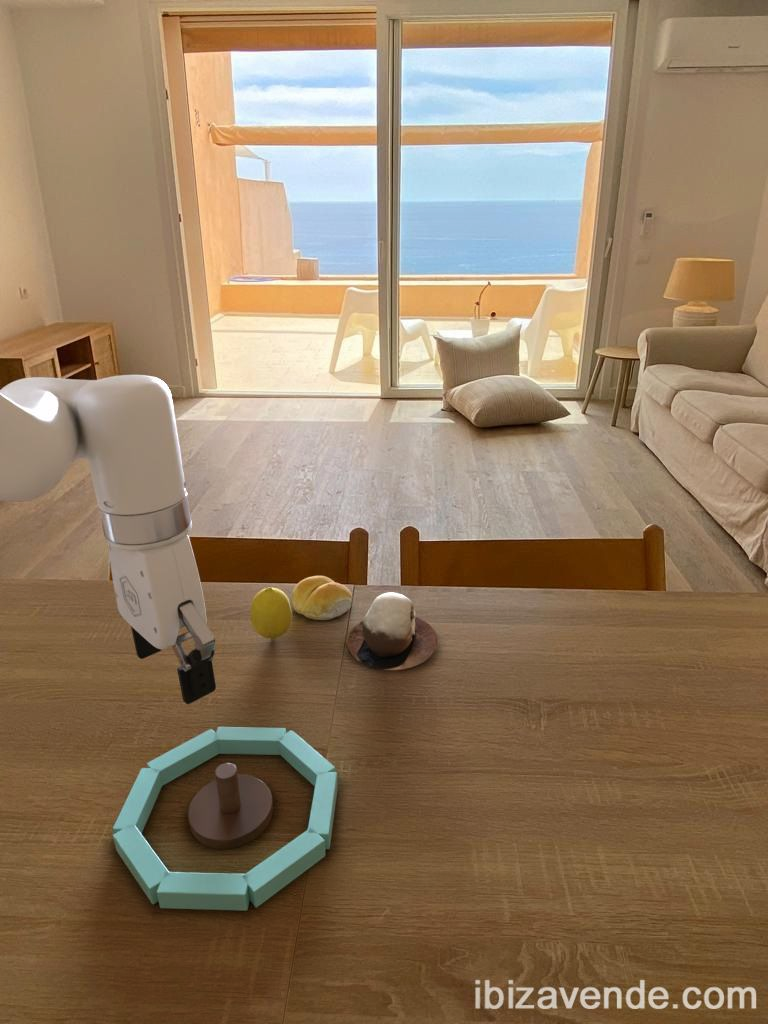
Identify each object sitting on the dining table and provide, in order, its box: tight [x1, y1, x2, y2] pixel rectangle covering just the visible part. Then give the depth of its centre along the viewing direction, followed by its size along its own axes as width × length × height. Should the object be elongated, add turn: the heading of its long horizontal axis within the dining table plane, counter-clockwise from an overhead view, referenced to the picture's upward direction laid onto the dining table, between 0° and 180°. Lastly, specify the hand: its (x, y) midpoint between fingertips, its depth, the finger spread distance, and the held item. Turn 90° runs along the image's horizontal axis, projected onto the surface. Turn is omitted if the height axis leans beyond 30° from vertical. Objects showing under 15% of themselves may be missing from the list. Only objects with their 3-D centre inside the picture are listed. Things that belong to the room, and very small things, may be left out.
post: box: [187, 762, 274, 850], centre depth 66 cm, size 8×8×6 cm
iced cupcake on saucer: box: [347, 591, 438, 671], centre depth 93 cm, size 12×10×10 cm
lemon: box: [249, 586, 293, 640], centre depth 93 cm, size 6×6×8 cm
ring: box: [112, 726, 339, 912], centre depth 67 cm, size 20×20×2 cm
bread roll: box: [290, 575, 353, 621], centre depth 101 cm, size 8×9×4 cm
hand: (175, 673), depth 69 cm, fingers open, 9 cm apart
